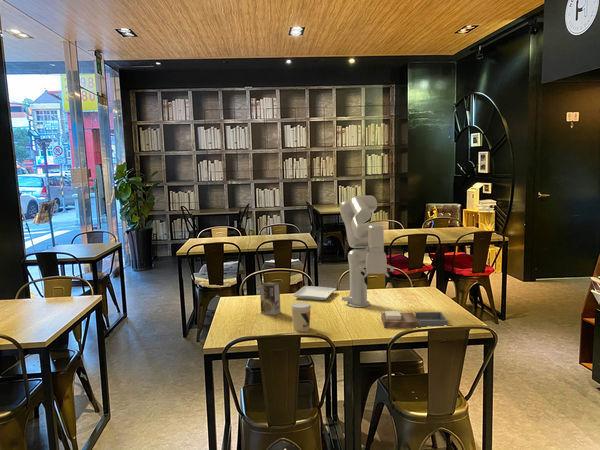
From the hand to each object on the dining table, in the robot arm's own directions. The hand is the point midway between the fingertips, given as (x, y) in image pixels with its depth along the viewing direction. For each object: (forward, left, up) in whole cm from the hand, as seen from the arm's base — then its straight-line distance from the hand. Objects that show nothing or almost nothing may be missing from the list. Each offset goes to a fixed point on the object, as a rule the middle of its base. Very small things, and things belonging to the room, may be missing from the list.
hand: (376, 284), depth 235 cm
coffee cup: (-37, -9, -20) cm, 43 cm away
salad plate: (-32, +49, -20) cm, 62 cm away
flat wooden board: (+11, -1, -20) cm, 22 cm away
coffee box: (-55, +16, -20) cm, 61 cm away
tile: (+8, -1, -17) cm, 18 cm away
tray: (+26, -1, -20) cm, 33 cm away
